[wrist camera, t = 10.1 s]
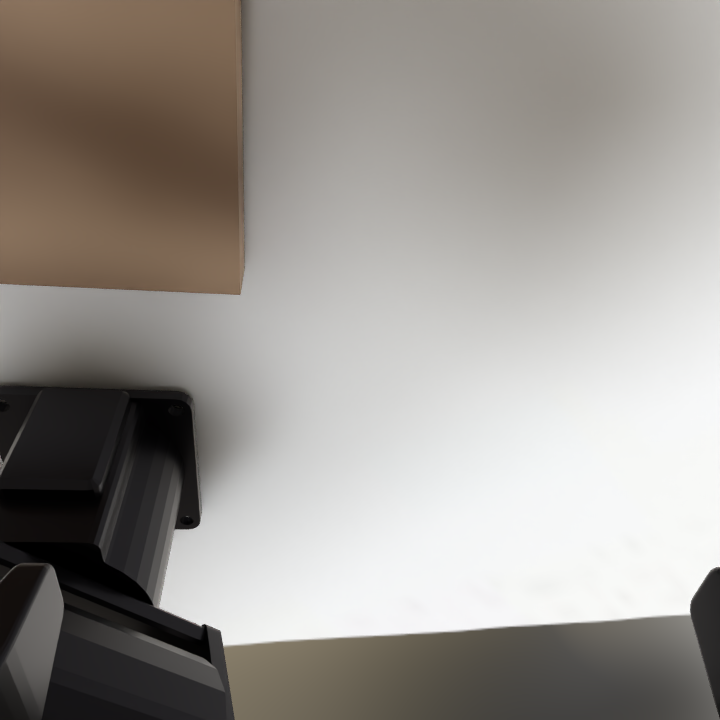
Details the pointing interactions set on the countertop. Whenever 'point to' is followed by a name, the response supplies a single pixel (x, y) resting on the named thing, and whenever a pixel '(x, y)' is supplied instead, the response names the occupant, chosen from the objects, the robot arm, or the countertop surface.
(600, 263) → the countertop surface
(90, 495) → the robot arm
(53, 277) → the brown tray
